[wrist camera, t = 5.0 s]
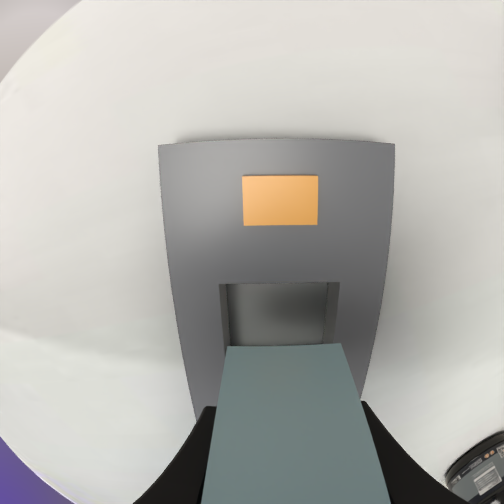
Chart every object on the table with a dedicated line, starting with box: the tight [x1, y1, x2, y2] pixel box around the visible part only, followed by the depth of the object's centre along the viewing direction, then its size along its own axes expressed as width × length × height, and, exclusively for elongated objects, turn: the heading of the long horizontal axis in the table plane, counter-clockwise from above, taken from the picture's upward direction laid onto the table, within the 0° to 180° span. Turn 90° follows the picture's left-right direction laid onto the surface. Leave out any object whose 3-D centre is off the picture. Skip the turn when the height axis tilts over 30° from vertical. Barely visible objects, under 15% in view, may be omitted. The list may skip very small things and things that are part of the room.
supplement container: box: [446, 434, 504, 504], centre depth 18 cm, size 10×10×12 cm
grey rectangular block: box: [201, 343, 391, 504], centre depth 8 cm, size 4×4×7 cm
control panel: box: [158, 138, 395, 421], centre depth 17 cm, size 26×10×3 cm, turn 2°
